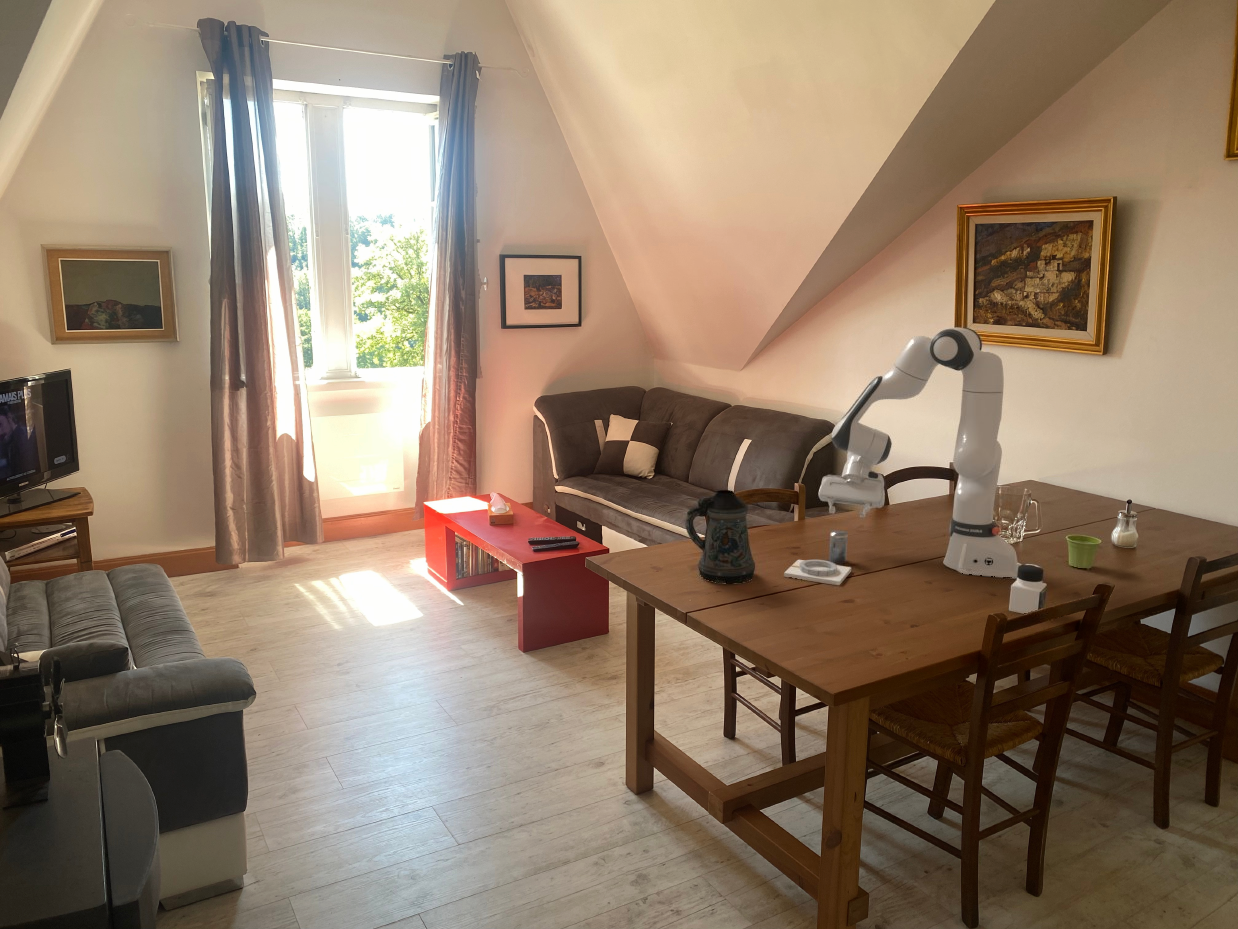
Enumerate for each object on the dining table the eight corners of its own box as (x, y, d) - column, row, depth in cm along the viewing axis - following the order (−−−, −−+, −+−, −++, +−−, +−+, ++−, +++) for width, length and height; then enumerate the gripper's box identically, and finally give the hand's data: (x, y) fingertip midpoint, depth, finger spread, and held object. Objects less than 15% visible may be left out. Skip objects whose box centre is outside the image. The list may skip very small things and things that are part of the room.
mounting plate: (851, 571, 266) (851, 562, 265) (839, 585, 254) (839, 576, 253) (797, 563, 273) (798, 554, 272) (784, 576, 261) (784, 567, 260)
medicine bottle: (1037, 617, 231) (1042, 572, 228) (1008, 611, 235) (1012, 567, 232) (1044, 609, 236) (1049, 565, 234) (1015, 603, 241) (1019, 560, 238)
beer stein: (766, 578, 259) (770, 494, 254) (712, 590, 249) (714, 502, 244) (731, 563, 273) (733, 482, 268) (678, 573, 263) (679, 490, 258)
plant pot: (1069, 559, 278) (1072, 532, 276) (1102, 566, 271) (1105, 539, 269) (1058, 566, 271) (1061, 538, 269) (1091, 573, 265) (1094, 545, 263)
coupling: (847, 560, 277) (849, 531, 275) (843, 564, 272) (845, 535, 270) (831, 557, 279) (832, 529, 277) (827, 562, 274) (828, 533, 273)
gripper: (822, 468, 290) (812, 504, 283) (887, 475, 280) (878, 513, 274) (825, 479, 295) (815, 515, 288) (889, 486, 285) (880, 523, 279)
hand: (846, 514), depth 281 cm, fingers open, 8 cm apart
